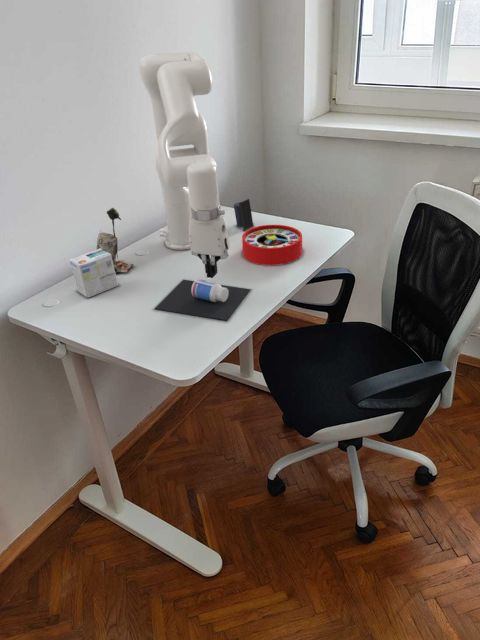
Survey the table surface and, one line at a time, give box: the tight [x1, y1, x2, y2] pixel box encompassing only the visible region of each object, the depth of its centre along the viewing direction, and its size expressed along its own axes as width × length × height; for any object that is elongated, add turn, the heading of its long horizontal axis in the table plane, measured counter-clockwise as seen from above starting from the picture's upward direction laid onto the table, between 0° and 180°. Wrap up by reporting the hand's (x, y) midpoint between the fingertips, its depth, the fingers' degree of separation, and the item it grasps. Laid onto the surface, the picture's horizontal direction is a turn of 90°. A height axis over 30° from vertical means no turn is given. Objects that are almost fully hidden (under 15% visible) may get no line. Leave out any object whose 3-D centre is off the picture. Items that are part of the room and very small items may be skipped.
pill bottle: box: [191, 278, 228, 302], centre depth 148 cm, size 6×5×10 cm
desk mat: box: [154, 279, 251, 322], centre depth 151 cm, size 22×18×1 cm
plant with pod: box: [96, 207, 134, 274], centre depth 163 cm, size 8×11×20 cm
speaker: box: [233, 198, 255, 232], centre depth 193 cm, size 8×6×10 cm
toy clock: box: [241, 224, 303, 266], centre depth 174 cm, size 20×6×20 cm
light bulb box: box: [68, 248, 119, 299], centre depth 155 cm, size 11×7×11 cm, turn 134°
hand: (211, 275), depth 146 cm, fingers closed
